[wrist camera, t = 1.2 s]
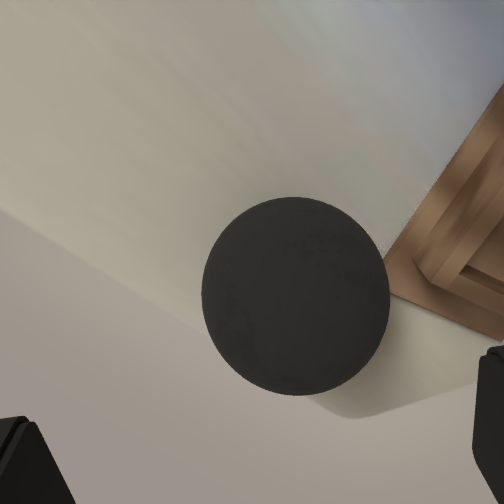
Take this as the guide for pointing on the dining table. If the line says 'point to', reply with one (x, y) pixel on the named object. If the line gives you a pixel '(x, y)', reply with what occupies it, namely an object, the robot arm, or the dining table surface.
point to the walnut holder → (460, 235)
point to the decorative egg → (295, 296)
